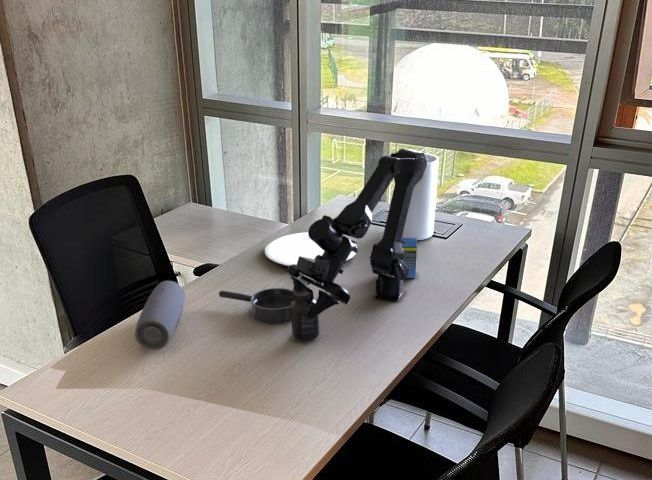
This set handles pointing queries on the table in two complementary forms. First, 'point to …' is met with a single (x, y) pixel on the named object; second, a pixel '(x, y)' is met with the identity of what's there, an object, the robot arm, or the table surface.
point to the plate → (294, 249)
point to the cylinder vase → (423, 203)
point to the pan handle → (235, 296)
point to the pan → (272, 305)
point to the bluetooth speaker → (160, 315)
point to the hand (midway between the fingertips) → (300, 313)
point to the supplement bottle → (303, 316)
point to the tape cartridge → (410, 255)
